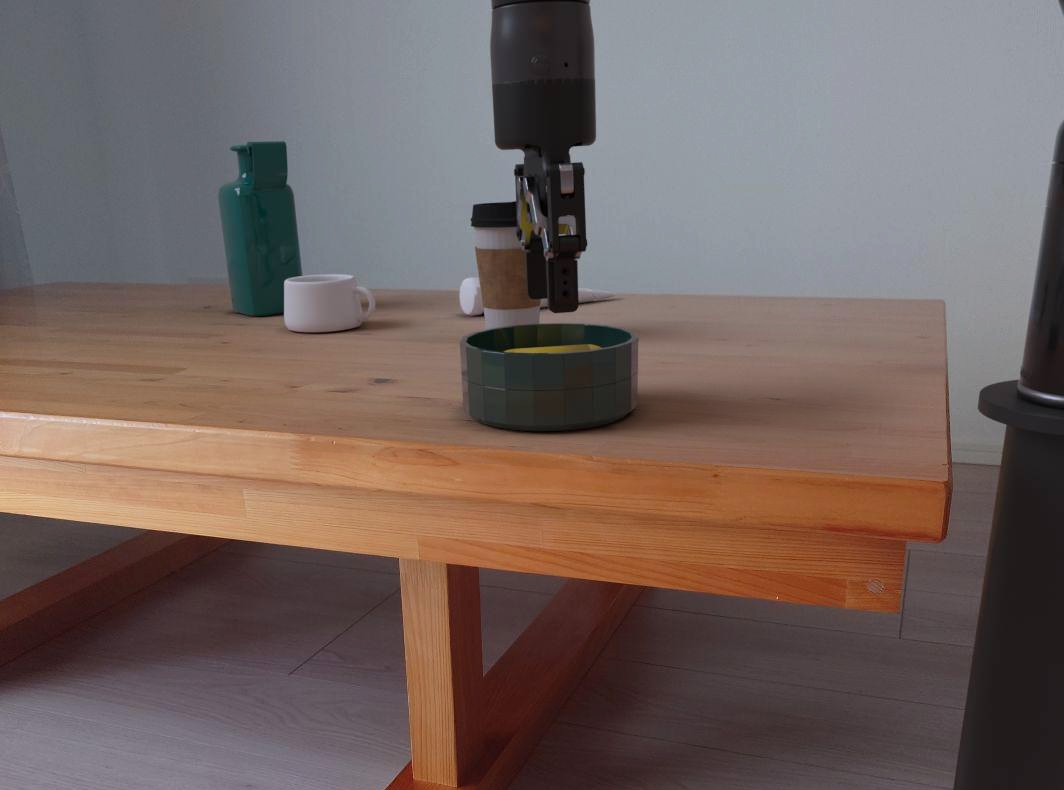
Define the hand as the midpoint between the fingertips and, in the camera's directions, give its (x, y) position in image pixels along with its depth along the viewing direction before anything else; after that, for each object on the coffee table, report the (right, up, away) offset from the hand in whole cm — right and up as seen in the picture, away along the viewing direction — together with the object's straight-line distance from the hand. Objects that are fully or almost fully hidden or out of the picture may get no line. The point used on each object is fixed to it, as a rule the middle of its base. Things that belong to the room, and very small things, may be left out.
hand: (551, 304), depth 79 cm
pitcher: (-37, +13, +62) cm, 73 cm away
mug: (-26, +8, +47) cm, 54 cm away
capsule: (0, -7, +1) cm, 7 cm away
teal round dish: (0, -8, +3) cm, 9 cm away
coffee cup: (-3, +4, +36) cm, 37 cm away
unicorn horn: (0, +13, +58) cm, 59 cm away
